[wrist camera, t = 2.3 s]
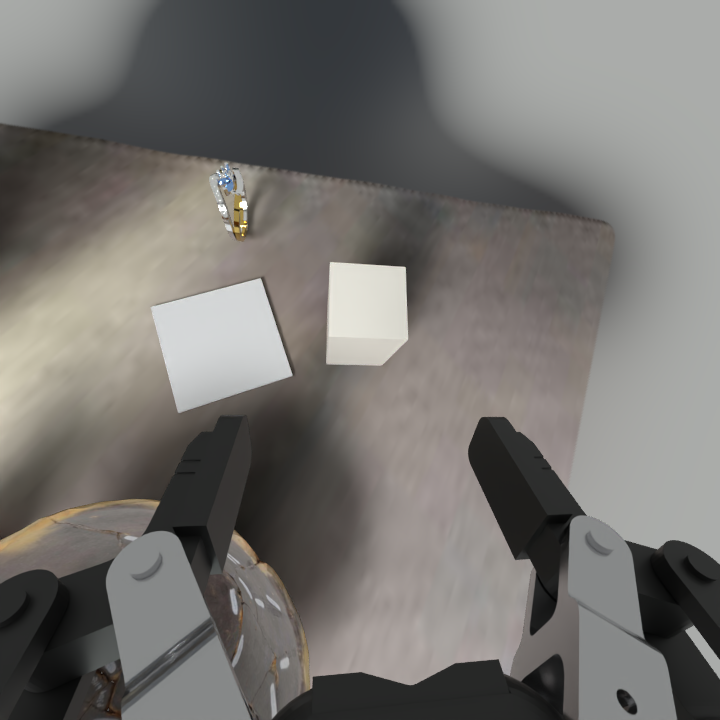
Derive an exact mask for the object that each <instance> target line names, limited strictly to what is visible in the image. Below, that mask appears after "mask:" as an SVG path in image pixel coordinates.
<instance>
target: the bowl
mask: <svg viewBox="0 0 720 720" xmlns="http://www.w3.org/2000/svg"><path fill="white" fill-rule="evenodd" d="M159 503H160V501H158V500H152V499H126V500H115V501H104V502H99V503H93V504H88V505H84V506H79V507H74V508H70V509H66V510H63V511H60V512H58V513H55V514H53V515H50V516H47V517H44V518H41V519H38V520H37V521H35V522H33V523H32V524H30V525H29V526H27V527H25V528H24V529H22V530H19V531H17V532H15V533H13V534H11V535H9V536H7V537H5V538H4V539H2V540H0V584H1V583H2V582H4V581H6V580H8V579H10V578H11V577H13V576H16V575H18V574H21V573H23V572H27V571H31V570H36V569H43V570H48V571H50V572H52V573H53V574H54V575H56V577H57V578H61V577H64V576H67V575H70V574H73V573H76V572H78V571H81V570H84V569H87V568H90V567H93V566H96V565H99V564H102V563H104V562H107V561H109V560H111V559H113V558H115V557H116V556H117V555H118V554H119V553H120V552H121V551H122V550H123V549H124V548H125V547H126V546H127V545H128V544H130V543H131V542H132V541H134V540H135V539H137V538H139V537H141V536H142V535H143V533H144V532H145V530H146V529H147V527H148V525H149V523H150V521H151V519H152V517H153V515H154V513H155V511H156V509H157V507H158V505H159ZM239 590H240V591H239ZM204 597H205V600H206V602H207V605H208V607H209V609H210V612H211V614H212V617H213V619H214V622H215V624H216V627H217V629H218V632H219V634H220V637H221V639H222V642H223V644H224V647H225V649H226V652H227V654H228V657H229V659H230V662H231V664H232V666H233V669H234V671H235V674H236V676H237V678H238V681H239V683H240V686H241V688H242V691H243V693H244V695H245V698H246V700H247V703H248V705H249V708H250V710H251V713H252V715H253V718H254V720H272V719H273V717H274V716H275V715H276V714H277V713H278V712H279V711H280V710H281V709H282V708H283V707H284V706H286V705H287V704H288V703H289V702H290V701H292V700H293V699H295V698H296V697H297V696H299V695H300V694H302V693H304V692H306V691H308V690H310V677H309V652H308V647H307V642H306V637H305V633H304V629H303V626H302V623H301V620H300V617H299V615H298V613H297V610H296V608H295V606H294V604H293V602H292V600H291V598H290V596H289V594H288V592H287V590H286V588H285V586H284V584H283V582H282V581H281V579H280V578H279V576H278V575H277V574H276V572H275V571H274V570H273V569H272V568H271V567H270V566H269V565H268V564H267V563H265V562H262V561H260V560H259V558H258V556H257V555H256V553H255V552H254V551H253V549H252V548H251V547H250V546H249V544H248V543H247V542H246V541H245V540H244V539H243V538H242V537H241V536H240V535H239V534H238V533H237V532H236V531H235V530H234V531H233V535H232V539H231V543H230V546H229V550H228V554H227V558H226V562H225V566H224V569H223V573H222V574H213V575H209V579H208V582H207V586H206V589H205V593H204ZM101 671H102V672H103V674H101ZM112 680H113V682H114V683H113V682H111V681H112ZM124 693H125V681H124V675H123V670H122V665H121V660H120V659H118V660H116V661H114V662H111V663H109V664H107V665H105V666H103V667H100V668H98V669H97V670H96V672H95V675H94V677H93V680H92V682H91V684H90V687H89V689H88V692H87V694H86V697H85V699H84V701H83V704H82V706H81V709H80V711H79V714H78V716H77V718H76V720H122V716H121V700H122V696H123V695H124ZM108 708H109V711H107V709H108Z"/></svg>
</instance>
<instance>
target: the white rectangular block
mask: <svg viewBox="0 0 720 720" xmlns="http://www.w3.org/2000/svg"><path fill="white" fill-rule="evenodd" d="M407 340H408V322H407V294H406V267H398V266H382V265H366V264H350V263H335V262H330V273H329V291H328V309H327V350H326V364H341V365H383V364H384V363H385V362H386V361H387V360H388V359H389V358H390V357H391V356H392V355H393V354H394V353H395V352H396V351H397V350H398V349H399V348H400V347H401V346H402V345H403V344H404V343H405V342H406V341H407Z"/></svg>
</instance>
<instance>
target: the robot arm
mask: <svg viewBox="0 0 720 720" xmlns="http://www.w3.org/2000/svg"><path fill="white" fill-rule="evenodd" d="M468 456H469V461H470V464H471V466H472V469H473V471H474V473H475V475H476V477H477V479H478V481H479V484H480V486H481V488H482V490H483V492H484V494H485V496H486V498H487V501H488V503H489V505H490V507H491V509H492V511H493V513H494V516H495V518H496V520H497V522H498V524H499V526H500V528H501V531H502V533H503V535H504V537H505V539H506V541H507V543H508V546H509V548H510V550H511V552H512V554H513V556H514V558H515V560H521V559H530V560H531V562H532V564H533V566H534V568H533V569H532V571H531V574H530V582H529V589H528V597H527V604H526V612H525V619H524V627H523V634H522V639H521V642H520V645H519V648H518V650H517V652H516V654H515V657H514V660H513V664H512V668H511V673H510V676H508V675H506V674H503V671H502V668H501V665H500V662H499V659H498V660H487V661H476V662H466V663H455V664H453V665H451V666H450V667H448V668H446V669H444V670H442V671H440V672H438V673H436V674H434V675H433V676H431V677H429V678H427V679H425V680H423V681H421V682H419V683H417V684H415V685H405V684H402V683H398V682H394V681H391V680H387V679H383V678H380V677H376V676H373V675H369V674H365V673H362V672H359V673H348V674H337V675H327V676H316V677H313V687H312V689H310V690H308V691H306V692H304V693H302V694H300V695H299V696H297V697H296V698H295V699H293V700H292V701H290V702H289V703H288V704H287V705H286V706H284V707H283V708H282V709H281V710H280V711H279V712H278V713H277V714H276V715H275V716H274V717H273V719H272V720H720V679H719V678H718V676H717V675H716V673H715V672H714V671H713V669H712V668H711V667H710V665H709V664H708V662H707V661H706V659H705V658H704V657H703V655H702V654H701V652H700V651H699V650H698V648H697V647H696V646H695V644H694V643H693V641H692V640H691V638H690V637H689V636H688V634H687V633H686V632H685V630H686V629H688V628H690V627H692V626H693V625H694V626H695V627H696V628H697V629H698V631H699V632H700V634H701V635H702V636H703V638H704V639H705V640H706V642H707V643H708V644H709V646H710V647H711V649H712V650H713V651H714V653H715V654H716V655H717V657H718V658H719V659H720V564H718V563H717V562H716V561H715V560H714V559H713V558H711V557H710V556H708V555H707V554H706V553H704V552H703V551H701V550H699V549H698V548H696V547H694V546H692V545H690V544H687V543H685V542H681V541H676V540H672V541H668V542H666V543H665V544H664V545H663V546H661V547H660V548H659V549H658V550H657V549H654V548H650V547H646V546H643V545H639V544H636V543H632V542H629V541H625V540H624V539H623V538H622V537H621V536H620V535H619V534H618V533H617V532H616V531H615V530H614V529H612V528H611V527H610V526H608V525H607V524H605V523H604V522H602V521H600V520H598V519H596V518H593V517H590V516H587V515H586V514H585V513H584V512H583V510H582V509H581V507H580V506H579V505H578V503H577V502H576V501H575V499H574V498H573V496H572V495H571V494H570V492H569V491H568V490H567V488H566V487H565V485H564V484H563V483H562V481H561V480H560V479H559V477H558V476H557V474H556V473H555V472H554V470H551V466H550V465H549V463H548V462H547V461H546V459H544V458H543V455H542V454H541V452H540V451H539V450H538V448H537V447H536V446H535V444H534V443H533V442H532V441H530V440H529V439H528V438H527V437H526V436H524V435H523V434H522V433H521V432H516V431H515V429H514V428H513V426H512V425H511V424H510V422H509V421H508V420H507V419H506V418H505V417H482V418H481V419H480V420H479V422H478V425H477V427H476V430H475V432H474V435H473V438H472V440H471V443H470V445H469V449H468ZM251 458H252V446H251V439H250V433H249V426H248V420H247V416H246V415H221V416H220V417H219V419H218V422H217V424H216V426H215V429H214V431H213V432H201V433H200V434H199V435H198V436H197V437H196V438H195V439H194V440H193V441H192V442H191V443H190V444H189V445H188V447H187V449H186V451H185V453H184V455H183V457H182V459H181V463H179V465H178V467H177V469H176V471H175V475H174V476H173V477H172V479H171V481H170V483H169V485H168V487H167V489H166V491H165V493H164V495H163V497H162V499H161V501H160V503H159V505H158V507H157V509H156V511H155V513H154V515H153V517H152V519H151V521H150V523H149V525H148V527H147V529H146V530H145V532H144V533H143V535H142V536H141V537H139V538H137V539H135V540H134V541H132V542H131V543H130V544H128V545H127V546H126V547H125V548H124V549H123V550H122V551H121V552H120V553H119V554H118V555H117V556H116V557H115V558H113V559H111V560H109V561H107V562H104V563H102V564H99V565H96V566H93V567H90V568H87V569H84V570H81V571H78V572H76V573H73V574H70V575H67V576H64V577H61V578H57V577H56V575H54V574H53V573H52V572H50V571H48V570H43V569H36V570H31V571H27V572H23V573H21V574H18V575H16V576H13V577H11V578H10V579H8V580H6V581H4V582H2V583H1V584H0V720H76V718H77V716H78V714H79V711H80V709H81V706H82V704H83V701H84V699H85V697H86V694H87V692H88V689H89V687H90V684H91V682H92V680H93V677H94V675H95V672H96V670H97V669H98V668H100V667H103V666H105V665H107V664H109V663H111V662H114V661H116V660H118V659H120V660H121V665H122V670H123V675H124V681H125V693H124V695H123V696H122V700H121V716H122V720H254V718H253V715H252V713H251V710H250V708H249V705H248V703H247V700H246V698H245V695H244V693H243V691H242V688H241V686H240V683H239V681H238V678H237V676H236V674H235V671H234V669H233V666H232V664H231V662H230V659H229V657H228V654H227V652H226V649H225V647H224V644H223V642H222V639H221V637H220V634H219V632H218V629H217V627H216V624H215V622H214V619H213V617H212V614H211V612H210V609H209V607H208V605H207V602H206V600H205V597H204V593H205V589H206V586H207V582H208V579H209V575H213V574H222V573H223V569H224V566H225V562H226V558H227V554H228V550H229V546H230V543H231V539H232V535H233V531H234V527H235V523H236V519H237V516H238V512H239V508H240V504H241V500H242V496H243V492H244V489H245V485H246V481H247V477H248V473H249V469H250V465H251Z"/></svg>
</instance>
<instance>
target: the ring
mask: <svg viewBox="0 0 720 720" xmlns="http://www.w3.org/2000/svg"><path fill="white" fill-rule="evenodd" d="M224 165H225V168H226V169H224V168H223V166H220V168H221V169H220V170H216V172H217V173H215V174H212V175H211V176H210V178H209V181H210V185H211V188H212V190H213V193H214V195H215V198H216V201H217V204H218V206H219V209H220V212H221V215H222V218H223V220H224V223H225V226H226V229H227V231H228V234H229V236H230V237H231V239H232V240H235V241H241V242H243V241H244V240H245V237H246V233H247V231H248V205H247V196H246V190H245V185H244V181H243V178H242V175H241V173H240V170H239V168H232V170H230V167H229V164H228V163H225V164H224ZM232 171H233V172H232ZM220 187H223V190H224V192H225V195H226V196H229V194H231V195H232V196H234V197H235V200H234V227H233V223H232V220H231V217H230V214H229V211H228V208H227V206H226V203H225V200H224V198H223V195H222V192H221V190H220ZM234 189H235V191H234Z"/></svg>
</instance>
